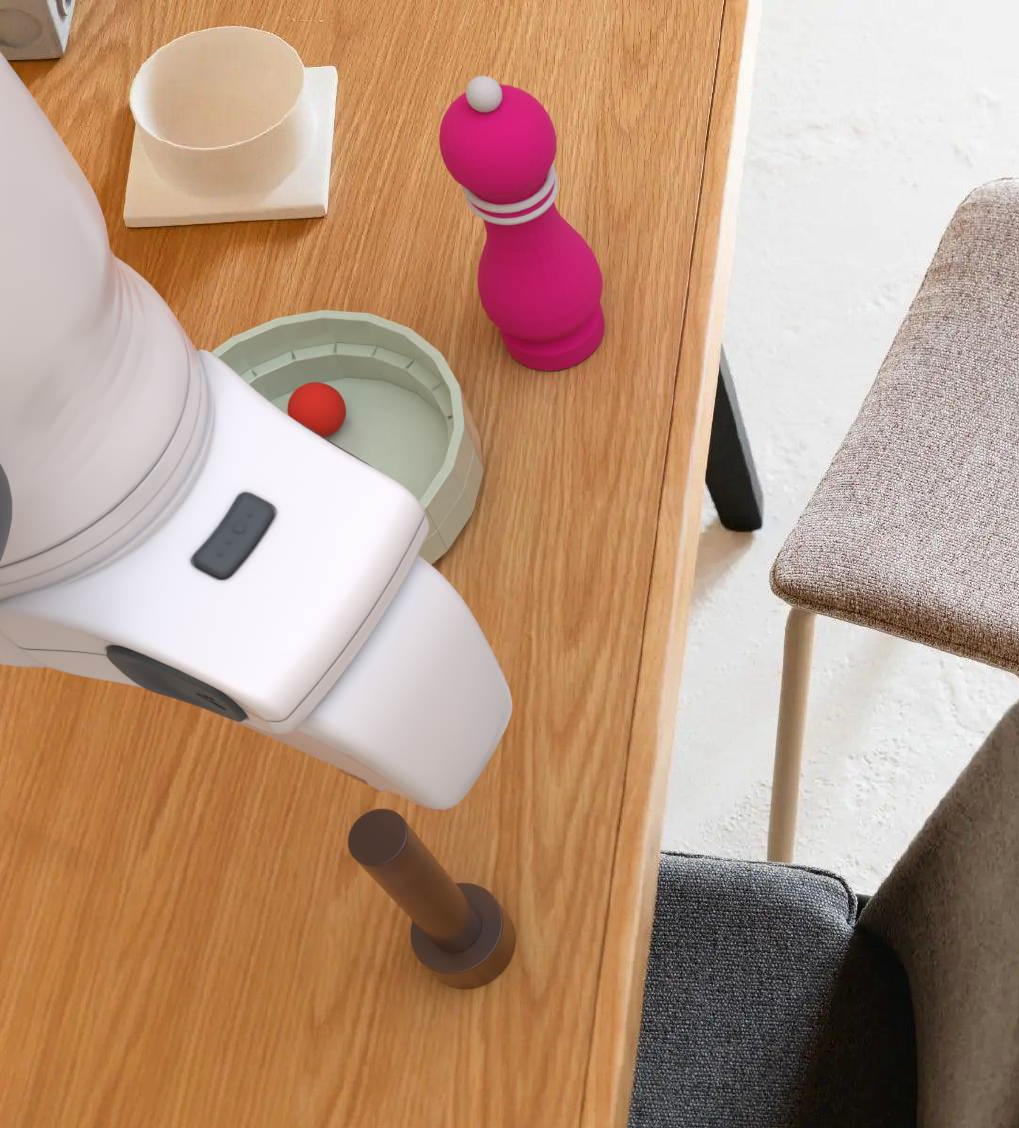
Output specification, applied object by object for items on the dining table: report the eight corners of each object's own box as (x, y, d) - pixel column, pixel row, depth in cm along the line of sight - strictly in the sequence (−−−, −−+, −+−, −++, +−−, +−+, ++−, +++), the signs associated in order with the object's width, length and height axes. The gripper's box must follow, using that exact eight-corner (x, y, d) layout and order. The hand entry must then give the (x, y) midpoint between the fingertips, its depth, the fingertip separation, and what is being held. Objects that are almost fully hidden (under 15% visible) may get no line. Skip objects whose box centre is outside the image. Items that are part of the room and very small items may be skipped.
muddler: (486, 1004, 73) (394, 907, 59) (409, 967, 74) (300, 864, 60) (532, 921, 75) (453, 809, 61) (456, 886, 76) (361, 768, 62)
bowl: (381, 664, 82) (350, 618, 77) (124, 554, 85) (79, 504, 80) (539, 424, 89) (520, 368, 84) (297, 332, 93) (265, 274, 88)
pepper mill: (490, 381, 91) (399, 136, 73) (500, 287, 94) (415, 32, 77) (610, 376, 91) (547, 130, 73) (615, 283, 94) (556, 27, 77)
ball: (357, 438, 88) (319, 445, 85) (314, 429, 89) (275, 436, 87) (358, 383, 88) (319, 389, 85) (314, 376, 89) (274, 381, 86)
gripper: (-363, 433, 37) (-61, 671, 49) (329, 742, 33) (475, 920, 45) (-183, 253, 40) (61, 520, 52) (477, 516, 36) (577, 741, 48)
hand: (257, 707), depth 49 cm, fingers open, 8 cm apart
